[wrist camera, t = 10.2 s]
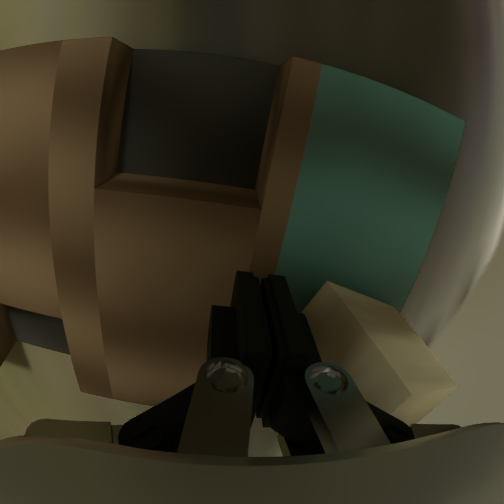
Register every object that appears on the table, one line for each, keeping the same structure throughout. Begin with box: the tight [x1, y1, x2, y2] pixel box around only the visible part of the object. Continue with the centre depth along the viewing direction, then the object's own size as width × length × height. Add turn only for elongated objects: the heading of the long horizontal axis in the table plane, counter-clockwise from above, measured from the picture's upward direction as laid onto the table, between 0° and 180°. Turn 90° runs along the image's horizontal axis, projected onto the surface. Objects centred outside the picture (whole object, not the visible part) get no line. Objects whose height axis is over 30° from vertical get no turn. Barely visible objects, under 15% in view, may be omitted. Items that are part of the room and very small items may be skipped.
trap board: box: [0, 37, 465, 415], centre depth 12 cm, size 17×29×3 cm, turn 80°
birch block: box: [276, 281, 458, 435], centre depth 11 cm, size 5×5×5 cm
